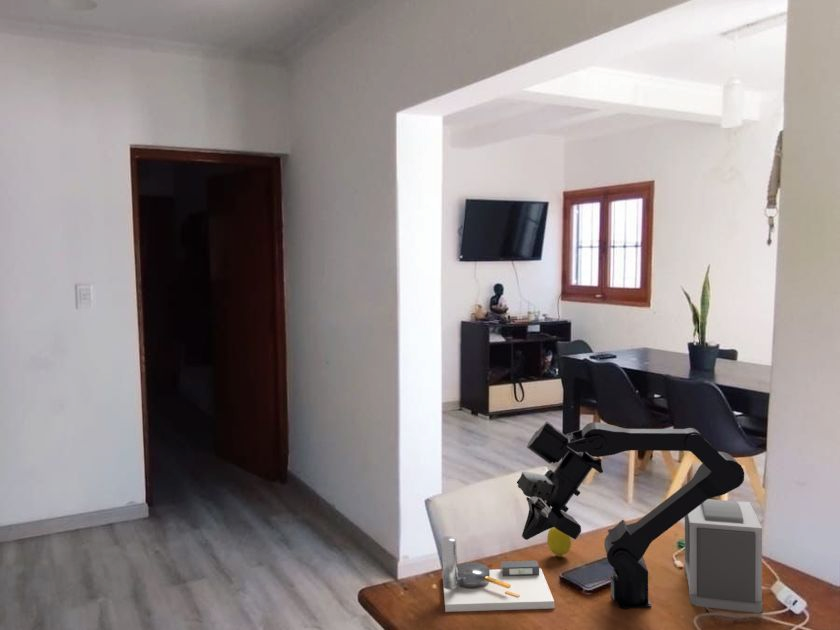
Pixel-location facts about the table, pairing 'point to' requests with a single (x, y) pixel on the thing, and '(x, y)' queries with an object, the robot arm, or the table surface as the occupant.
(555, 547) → the lemon
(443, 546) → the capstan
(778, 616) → the table surface
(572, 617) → the table surface
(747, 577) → the alarm clock
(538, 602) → the stand
